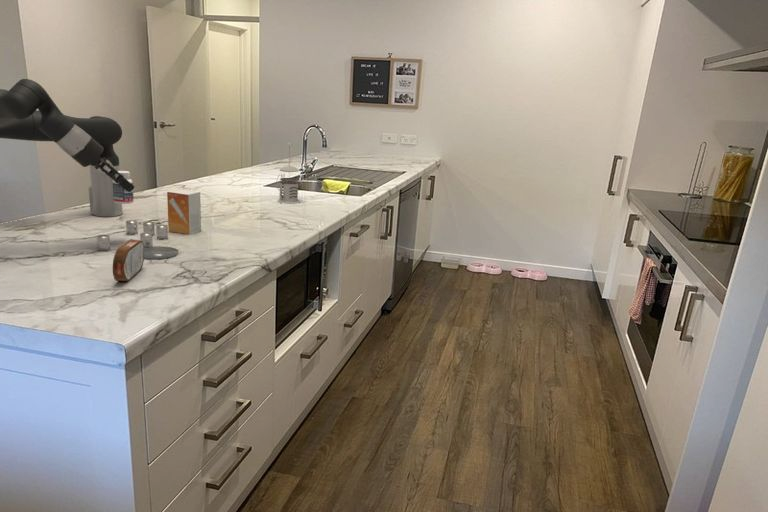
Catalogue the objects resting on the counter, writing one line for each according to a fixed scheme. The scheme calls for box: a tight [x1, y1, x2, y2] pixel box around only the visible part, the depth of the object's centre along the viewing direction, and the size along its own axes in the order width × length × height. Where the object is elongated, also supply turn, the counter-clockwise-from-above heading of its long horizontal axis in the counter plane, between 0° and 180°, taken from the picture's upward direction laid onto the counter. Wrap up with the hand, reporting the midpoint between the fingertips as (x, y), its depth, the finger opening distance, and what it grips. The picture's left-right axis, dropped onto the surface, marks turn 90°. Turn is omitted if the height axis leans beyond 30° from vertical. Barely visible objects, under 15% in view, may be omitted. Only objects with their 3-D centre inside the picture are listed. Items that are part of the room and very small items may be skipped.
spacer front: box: [155, 224, 169, 241], centre depth 169 cm, size 3×3×4 cm
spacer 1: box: [125, 219, 139, 236], centre depth 172 cm, size 3×3×4 cm
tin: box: [112, 238, 145, 282], centre depth 135 cm, size 15×3×8 cm, turn 5°
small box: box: [166, 188, 202, 235], centre depth 178 cm, size 8×6×13 cm
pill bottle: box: [113, 170, 135, 205], centre depth 159 cm, size 5×5×9 cm
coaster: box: [144, 245, 179, 260], centre depth 154 cm, size 11×11×1 cm
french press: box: [276, 142, 301, 205], centre depth 233 cm, size 10×12×25 cm
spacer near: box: [96, 234, 111, 252], centre depth 154 cm, size 3×3×4 cm
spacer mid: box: [142, 221, 156, 237], centre depth 171 cm, size 3×3×4 cm
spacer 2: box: [139, 232, 154, 248], centre depth 159 cm, size 3×3×4 cm
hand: (129, 187), depth 160 cm, fingers closed on pill bottle, 5 cm apart
